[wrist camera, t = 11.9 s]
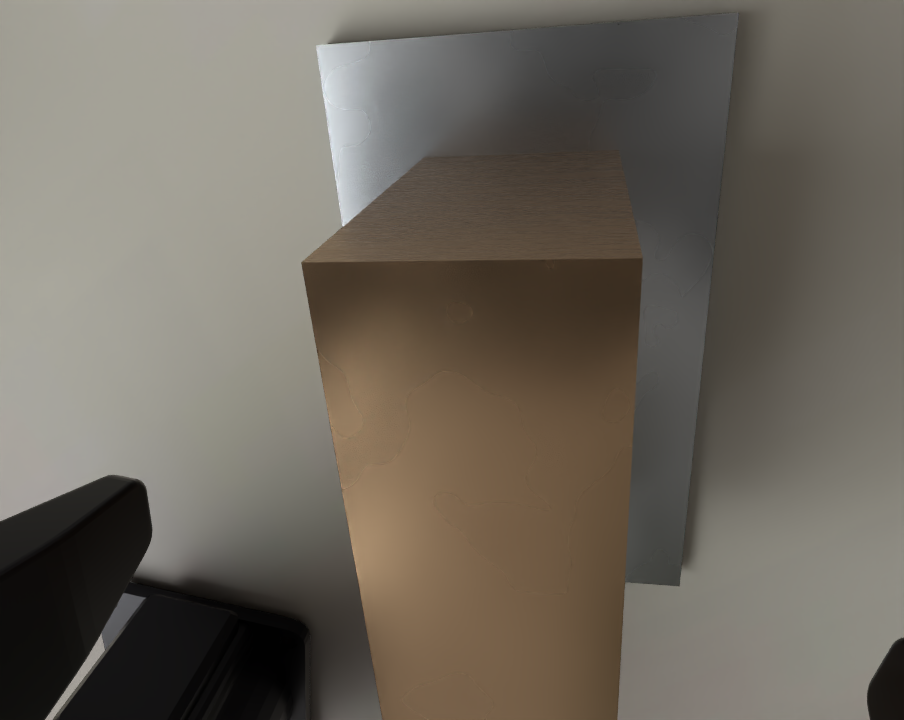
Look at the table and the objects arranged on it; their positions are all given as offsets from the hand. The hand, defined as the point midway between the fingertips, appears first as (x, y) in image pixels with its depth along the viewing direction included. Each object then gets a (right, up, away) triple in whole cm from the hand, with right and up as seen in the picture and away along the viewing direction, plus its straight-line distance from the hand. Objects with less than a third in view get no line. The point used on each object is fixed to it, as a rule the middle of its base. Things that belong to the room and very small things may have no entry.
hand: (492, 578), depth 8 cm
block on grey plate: (+1, +3, +6) cm, 7 cm away
